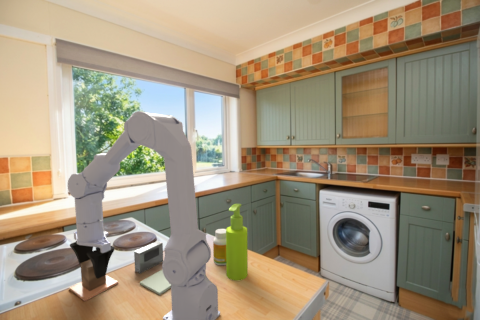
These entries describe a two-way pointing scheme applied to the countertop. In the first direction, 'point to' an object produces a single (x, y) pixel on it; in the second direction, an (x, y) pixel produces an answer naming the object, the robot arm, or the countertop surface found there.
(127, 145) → the robot arm
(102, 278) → the walnut block
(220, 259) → the supplement bottle
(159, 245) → the grey unit
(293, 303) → the countertop surface
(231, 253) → the soap dispenser
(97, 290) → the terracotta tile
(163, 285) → the sage tile
